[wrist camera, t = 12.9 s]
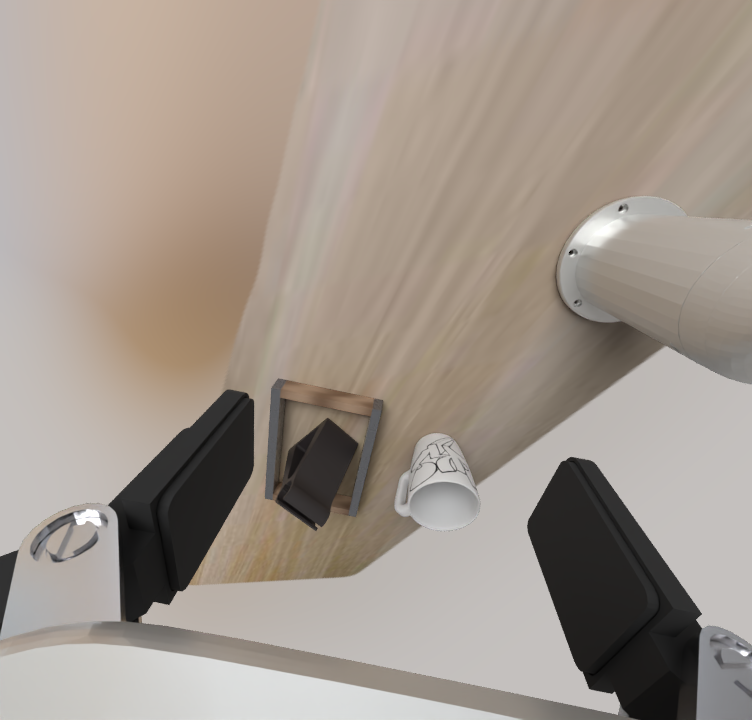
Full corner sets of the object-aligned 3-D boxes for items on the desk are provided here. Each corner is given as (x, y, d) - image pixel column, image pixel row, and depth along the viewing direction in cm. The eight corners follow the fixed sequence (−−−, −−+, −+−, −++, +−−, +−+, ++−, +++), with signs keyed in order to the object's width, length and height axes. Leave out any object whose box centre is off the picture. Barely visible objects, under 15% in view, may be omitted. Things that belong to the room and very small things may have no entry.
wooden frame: (382, 400, 45) (381, 410, 42) (357, 503, 54) (355, 516, 51) (278, 378, 44) (271, 387, 42) (270, 485, 53) (264, 498, 51)
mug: (414, 488, 51) (416, 549, 42) (379, 454, 49) (373, 511, 40) (478, 454, 47) (495, 513, 38) (443, 415, 45) (452, 469, 36)
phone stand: (318, 472, 51) (295, 544, 41) (289, 449, 50) (256, 517, 39) (358, 442, 48) (345, 512, 37) (328, 416, 47) (305, 481, 36)
